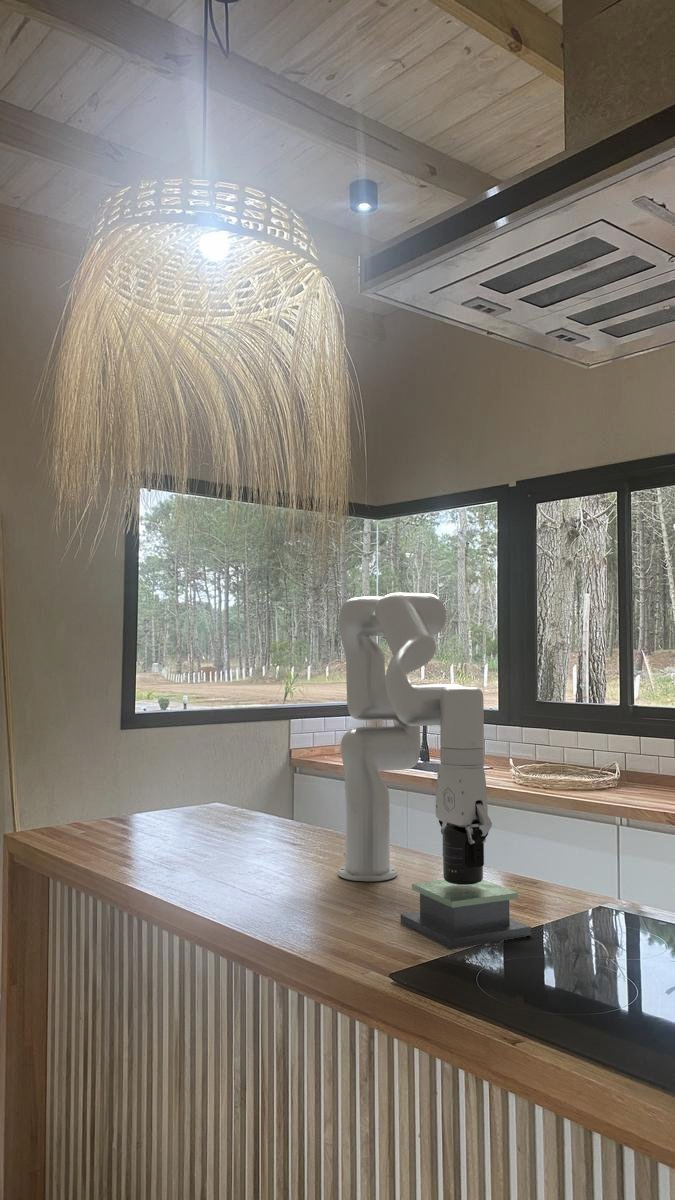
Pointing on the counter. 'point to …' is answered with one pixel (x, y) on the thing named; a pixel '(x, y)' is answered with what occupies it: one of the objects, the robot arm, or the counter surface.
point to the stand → (464, 914)
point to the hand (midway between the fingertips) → (462, 861)
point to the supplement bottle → (458, 857)
